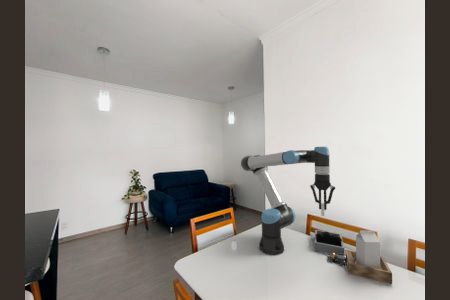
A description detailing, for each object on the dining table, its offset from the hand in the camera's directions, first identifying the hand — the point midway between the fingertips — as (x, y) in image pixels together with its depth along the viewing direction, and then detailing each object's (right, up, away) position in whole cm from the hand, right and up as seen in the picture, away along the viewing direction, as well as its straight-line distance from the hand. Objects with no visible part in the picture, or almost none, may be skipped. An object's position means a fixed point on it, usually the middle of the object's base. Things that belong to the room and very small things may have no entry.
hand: (322, 215), depth 106 cm
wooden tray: (+17, -24, -11) cm, 32 cm away
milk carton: (+17, -23, -11) cm, 31 cm away
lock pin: (+9, -24, -4) cm, 26 cm away
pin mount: (+6, -24, -3) cm, 25 cm away
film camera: (+10, -24, +14) cm, 30 cm away
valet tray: (+11, -24, +14) cm, 30 cm away
